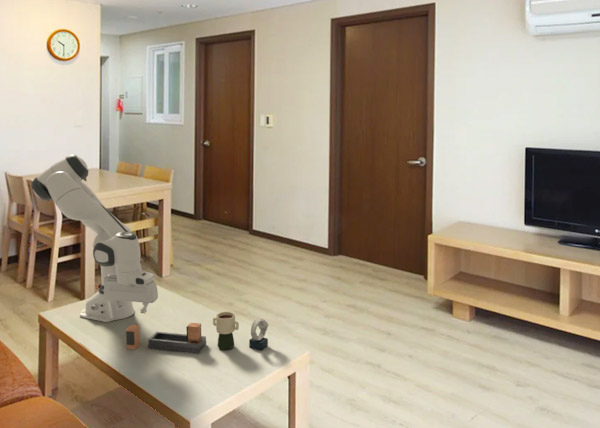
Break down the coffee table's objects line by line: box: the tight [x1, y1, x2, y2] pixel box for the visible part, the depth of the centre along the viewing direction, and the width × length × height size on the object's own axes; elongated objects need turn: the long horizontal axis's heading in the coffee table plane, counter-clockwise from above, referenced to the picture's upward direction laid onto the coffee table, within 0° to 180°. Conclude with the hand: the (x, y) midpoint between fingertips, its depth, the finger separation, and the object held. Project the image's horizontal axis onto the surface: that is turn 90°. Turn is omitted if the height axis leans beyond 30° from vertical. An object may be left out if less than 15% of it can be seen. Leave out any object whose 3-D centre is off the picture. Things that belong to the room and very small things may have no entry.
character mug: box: [212, 311, 240, 350], centre depth 192 cm, size 11×7×13 cm, turn 68°
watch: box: [248, 318, 269, 351], centre depth 193 cm, size 6×8×11 cm
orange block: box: [125, 324, 141, 350], centre depth 192 cm, size 5×3×8 cm
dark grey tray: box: [147, 322, 207, 355], centre depth 192 cm, size 20×8×10 cm, turn 80°
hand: (131, 311), depth 190 cm, fingers open, 8 cm apart
